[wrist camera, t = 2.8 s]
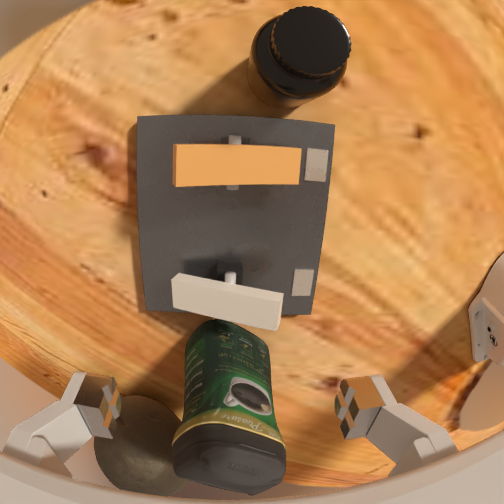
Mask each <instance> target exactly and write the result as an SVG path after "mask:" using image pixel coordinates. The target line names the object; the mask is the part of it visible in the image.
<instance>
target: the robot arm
mask: <svg viewBox="0 0 504 504" xmlns="http://www.w3.org/2000/svg"><path fill="white" fill-rule="evenodd" d="M468 313H469V321H470V330H471V341H472V354H473V360H475V361H476V362H480V361H484V360H486V359H488V358H490V359H491V360H492V361H493V362H495V363H496V364H498V365H501V366H502V365H504V253H503V254H502V255H501V256H500V257H499V259H498V260H497V261H496V263H495V264H494V265H493V267H492V269H491V270H490V272H489V274H488V276H487V278H486V280H485V282H484V284H483V287H482V289H481V290H480V292H479V293H478V295H477V296H476V297H475V298H474V300H473V301H472V303H471V304H470V306H469V309H468ZM116 385H117V384H116V381H115V378H114V377H110V376H104V375H98V374H92V373H86V372H80V371H76V372H74V373H73V375H72V377H71V379H70V381H69V383H68V385H67V387H66V390H65V392H64V394H63V396H62V398H61V400H60V401H55V402H54V403H52V404H50V405H49V406H47V407H46V408H44V409H42V410H41V411H39V412H38V413H36V414H35V415H33V416H31V417H30V418H28V419H27V420H25V421H24V422H22V423H20V424H19V425H17V426H15V427H14V428H13V430H12V432H11V434H10V436H9V439H8V440H7V442H6V444H5V447H4V449H3V451H2V452H1V451H0V504H504V429H503V430H501V431H500V432H498V433H496V434H494V435H492V436H490V437H488V438H486V439H484V440H482V441H480V442H478V443H476V444H474V445H472V446H470V447H468V448H466V449H464V450H461V451H458V449H457V448H456V446H455V444H454V442H453V441H452V439H451V437H450V436H449V434H448V432H447V430H446V429H445V428H443V427H441V426H439V425H438V424H436V423H434V422H432V421H431V420H429V419H427V418H426V417H424V416H422V415H420V414H419V413H417V412H415V411H414V410H412V409H410V408H409V407H407V406H405V405H404V404H402V403H397V401H396V400H395V398H394V396H393V394H392V392H391V391H390V389H389V387H388V385H387V383H386V382H385V380H384V378H383V376H382V375H380V374H378V375H371V376H364V377H356V378H348V379H343V380H342V381H341V384H340V389H341V391H340V392H339V393H338V394H337V395H336V399H335V412H336V415H337V418H339V419H340V420H342V424H341V426H340V427H341V430H342V432H343V435H344V438H345V440H346V439H353V438H359V437H365V436H366V438H367V439H368V440H369V441H370V442H371V443H373V444H374V445H375V446H376V447H377V448H378V449H380V450H381V451H382V452H383V453H384V454H386V455H387V456H388V457H389V458H390V459H391V460H393V461H394V462H395V463H396V466H395V467H394V468H393V469H392V470H391V472H390V473H389V475H388V476H389V477H388V478H384V479H380V480H377V481H373V482H369V483H365V484H361V485H356V486H352V487H347V488H342V489H337V490H332V491H326V492H320V493H313V494H306V495H298V496H289V497H279V498H265V499H244V500H214V499H212V500H211V499H191V498H178V497H167V496H159V495H151V494H144V493H137V492H131V491H126V490H120V489H115V488H110V487H106V486H101V485H97V484H92V483H89V482H85V481H81V480H78V479H74V478H72V474H71V473H70V472H69V471H68V469H67V468H66V467H65V465H64V462H66V461H67V460H68V459H69V458H70V457H71V456H72V455H73V454H74V453H75V452H76V451H78V450H79V449H80V448H81V447H82V446H83V445H84V444H85V443H86V442H87V441H88V440H89V439H90V438H91V437H92V436H98V437H104V438H110V439H113V437H114V434H115V430H116V427H117V424H116V422H115V419H116V418H117V417H119V416H120V412H121V403H122V402H121V396H120V393H119V392H118V391H117V390H116V389H115V388H116Z"/></svg>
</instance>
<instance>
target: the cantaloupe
mask: <svg viewBox="0 0 504 504" xmlns="http://www.w3.org/2000/svg"><path fill="white" fill-rule="evenodd" d="M121 402H122V403H121V412H120V416H119V417H117V418H116V419H115V422H116V424H117V427H116V430H115V434H114V437H113V439H110V438H104V437H98V436H95V438H94V450H95V455H96V459H97V462H98V464H99V466H100V468H101V469H102V471H103V473H104V474H105V476H106V477H107V478H108V479H109V481H110V482H112V484H114V485H115V486H116V487H117V488H119V489H120V490H126V491H131V492H137V493H144V494H151V495H159V496H167V497H168V496H170V495H172V494H174V493H176V492H178V491H179V490H180V489H182V488H183V487H184V486H185V485H186V484H187V482H188V480H187V479H184V478H180V477H178V476H177V475H176V474H175V473H174V469H173V455H172V441H173V438H174V435H175V433H176V431H177V430H178V428H179V427H180V425H181V424H182V422H181V421H180V419H179V418H178V417H177V416H176V415H175V414H174V413H173V412H172V411H171V410H170V409H169V408H167V407H166V406H165V405H163V404H162V403H160V402H158V401H155V400H153V399H150V398H148V397H145V396H139V395H131V396H125V397H122V398H121Z"/></svg>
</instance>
